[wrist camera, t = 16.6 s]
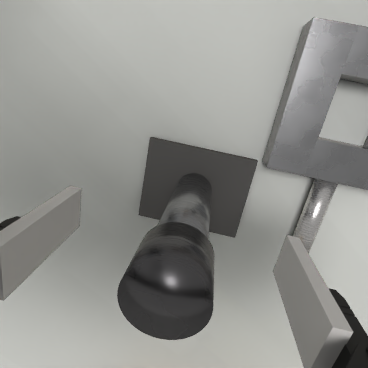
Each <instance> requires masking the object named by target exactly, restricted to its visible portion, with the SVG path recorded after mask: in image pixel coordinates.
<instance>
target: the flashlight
mask: <svg viewBox="0 0 368 368" xmlns="http://www.w3.org/2000/svg"><path fill="white" fill-rule="evenodd" d="M211 194H212V188H211V184H210V182H209V181H208V179H207V178H206V177H204V176H203V175H201V174H198V173H190V174H186V175H184V176H183V177H182V178H181V179H180V180H179V182H178V183H177V186H176V188H175V190H174V192H173V194H172V196H171V198H170V200H169V202H168V204H167V207H166V209H165V211H164V213H163V215H162V217H161V219H160V221H159V223H158V225H157V226H156V227H154V228H153V229H151V230H150V231H149V232H148V233H147V234H146V235H145V237H144V238H143V240H142V242H141V244H140V246H139V248H138V250H137V251H136V253H135V255H134V257H133V259H132V261H131V263H130V265H129V266H128V268H127V270H126V272H125V274H124V276H123V278H122V280H121V282H120V284H119V287H118V295H117V296H118V303H119V306H120V309H121V311H122V313H123V315H124V316H125V317H126V319H127V320H128V321H129V322H130V323H131V324H132V325H133V326H134V327H135V328H137V329H138V330H140V331H142V332H143V333H145V334H147V335H150V336H152V337H156V338H160V339H166V340H177V339H184V338H187V337H190V336H193V335H195V334H197V333H198V332H200V331H201V330H202V329H203V328H204V327H205V326H206V325H207V324H208V322H209V320H210V318H211V316H212V312H213V291H214V251H213V247H212V245H211V243H210V241H209V240H208V237H209V223H210V208H211Z"/></svg>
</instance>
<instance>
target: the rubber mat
mask: <svg viewBox="0 0 368 368" xmlns="http://www.w3.org/2000/svg"><path fill="white" fill-rule="evenodd" d="M257 162H258V161H257V160H255V159H250V158H246V157H241V156H236V155H232V154H227V153H223V152H218V151H213V150H209V149H204V148H200V147H195V146H190V145H186V144H181V143H177V142H172V141H167V140H163V139H158V138H154V137H151V138H150V142H149V149H148V155H147V162H146V169H145V176H144V182H143V189H142V196H141V202H140V209H139V215H141V216H146V217H150V218H154V219H158V220H160V219H161V217H162V215H163V213H164V211H165V209H166V207H167V204H168V202H169V200H170V198H171V196H172V194H173V192H174V190H175V188H176V186H177V183H178V182H179V180H180V179H181V178H182V177H183V176H184V175H186V174H190V173H198V174H201V175H203V176H204V177H206V178H207V179H208V181H209V182H210V184H211V188H212V194H211V208H210V223H209V232H213V233H218V234H222V235H226V236H230V237H235V236H236V232H237V229H238V226H239V222H240V219H241V215H242V212H243V209H244V205H245V202H246V199H247V195H248V192H249V189H250V185H251V182H252V179H253V175H254V172H255V169H256V165H257Z"/></svg>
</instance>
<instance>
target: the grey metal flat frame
mask: <svg viewBox="0 0 368 368" xmlns="http://www.w3.org/2000/svg"><path fill="white" fill-rule="evenodd" d="M340 79H344V80H349V81H354V82H359V83H364V84H368V27H365V26H359V25H354V24H349V23H343V22H338V21H332V20H327V19H321V18H316V17H314V18H312V19H311V20H310V21H309V22H308V23H307V24H305V25H304V26H303V29H302V32H301V35H300V39H299V42H298V45H297V48H296V52H295V55H294V58H293V61H292V65H291V68H290V71H289V75H288V78H287V81H286V84H285V88H284V91H283V94H282V98H281V101H280V104H279V107H278V111H277V114H276V117H275V120H274V124H273V127H272V130H271V134H270V137H269V140H268V143H267V147H266V150H265V153H264V157H263V160H262V162H263V163H264V165H265V166H266V167H267V168H270V169H275V170H279V171H284V172H289V173H293V174H298V175H302V176H307V177H311V178H315V180H314V182H313V185H312V187H311V190H310V193H309V195H308V198H307V200H306V203H305V206H304V208H303V211H302V213H301V216H300V219H299V221H298V224H297V226H296V229H295V231H294V234H293V236H294V237H298V238H300V240H301V242H302V243H303V245H304V247H305V249H306V250H307V252H308V254H309V251H310V249H311V247H312V244H313V242H314V239H315V237H316V235H317V232H318V230H319V228H320V225H321V223H322V220H323V218H324V216H325V213H326V211H327V208H328V206H329V204H330V201H331V199H332V197H333V194H334V192H335V189H336V187H337V185H338V183H339V184H343V185H348V186H353V187H357V188H362V189H366V190H368V137H367V139H366V142H365V144H364V146H358V145H353V144H349V143H344V142H339V141H334V140H330V139H325V138H320V137H319V134H320V131H321V128H322V126H323V123H324V120H325V118H326V115H327V112H328V109H329V107H330V104H331V101H332V99H333V96H334V93H335V90H336V88H337V85H338V82H339V80H340Z"/></svg>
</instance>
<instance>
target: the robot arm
mask: <svg viewBox="0 0 368 368" xmlns="http://www.w3.org/2000/svg"><path fill="white" fill-rule="evenodd" d="M81 191H82V188H77V187H73V186H69V187H68V188H66V189H65V190H63V191H61V192H60V193H58V194H57V195H55V196H54V197H52V198H51V199H49V200H47V201H46V202H44V203H43V204H41V205H40V206H38V207H37V208H35V209H34V210H32V211H30V212H29V213H27V214H26V215H24V216H23V217H18V216H16V217H13V218H10V219H7V220H5V221H3V222H2V223H0V300H3V301H4V300H5V299H6V298H7V297H8V296H9V295H10V294H11V293H12V292H13V291H14V290H15V289H16V288H17V287H18V286H19V285H20V284H21V283H22V282H23V281H24V280H25V279H26V278H27V277H28V276H29V275H30V274H31V273H32V272H33V271H34V270H35V269H36V268H37V267H38V266H39V265H40V264H41V263H42V262H43V261H44V260H46V259H47V258H48V257H49V256H50V255H51V254H52V253H53V252H54V251H55V250H56V249H57V248H58V247H59V246H60V245H61V244H62V243H63V242H64V241H65V240H66V239H67V238H68V237H69V236H70V235H71V234H72V233H73V232H74V231H75V230H76V229H77V228H78V227H79V226H80V210H81ZM273 273H274V276H275V279H276V282H277V285H278V288H279V291H280V294H281V298H282V301H283V304H284V307H285V310H286V313H287V316H288V319H289V323H290V326H291V329H292V332H293V335H294V338H295V341H296V344H297V347H298V351H299V354H300V357H301V360H302V363H303V366H304V368H368V336H367V334H366V332H365V331H364V329H363V327H362V326H361V324H360V323H359V321H358V319H357V318H356V317H355V315H354V313H353V311H352V310H351V309H350V307H349V305H348V303H347V302H346V300H345V299H344V298H343V297H342V296H341V295H340V294H339V293H338V292H337V291H336V290H333V289H329V288H328V287H327V285H326V283H325V282H324V280H323V278H322V276H321V275H320V273H319V271H318V270H317V268H316V266H315V264H314V263H313V261H312V259H311V257H310V256H309V254H308V252H307V250H306V249H305V247H304V245H303V243H302V242H301V240H300V238H298V237H294V236H289V235H287V236H286V238H285V241H284V244H283V246H282V249H281V251H280V254H279V257H278V259H277V262H276V264H275V267H274V269H273Z"/></svg>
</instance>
